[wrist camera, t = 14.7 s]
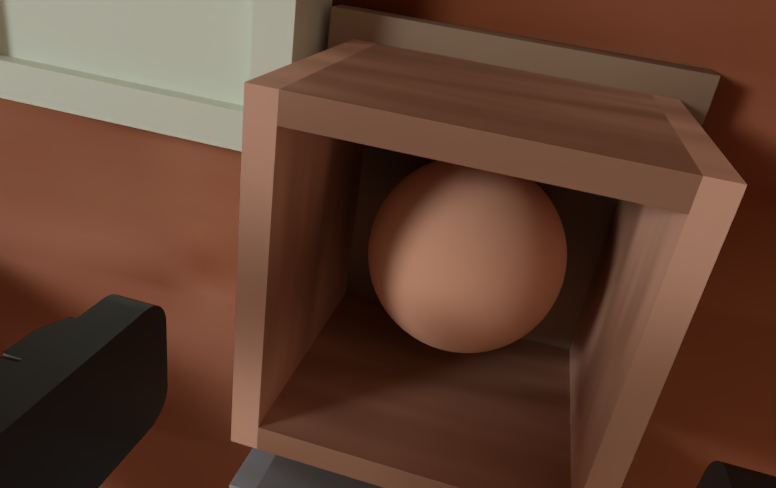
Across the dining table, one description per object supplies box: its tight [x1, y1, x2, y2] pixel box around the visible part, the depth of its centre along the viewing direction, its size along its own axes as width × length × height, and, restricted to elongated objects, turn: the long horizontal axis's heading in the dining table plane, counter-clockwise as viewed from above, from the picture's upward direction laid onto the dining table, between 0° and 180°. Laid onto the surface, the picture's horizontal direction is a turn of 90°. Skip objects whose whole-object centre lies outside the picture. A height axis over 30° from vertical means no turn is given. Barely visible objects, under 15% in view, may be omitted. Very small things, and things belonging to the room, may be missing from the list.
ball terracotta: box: [368, 160, 567, 353], centre depth 15 cm, size 4×4×4 cm
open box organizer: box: [229, 4, 747, 488], centre depth 16 cm, size 18×9×7 cm, turn 172°
